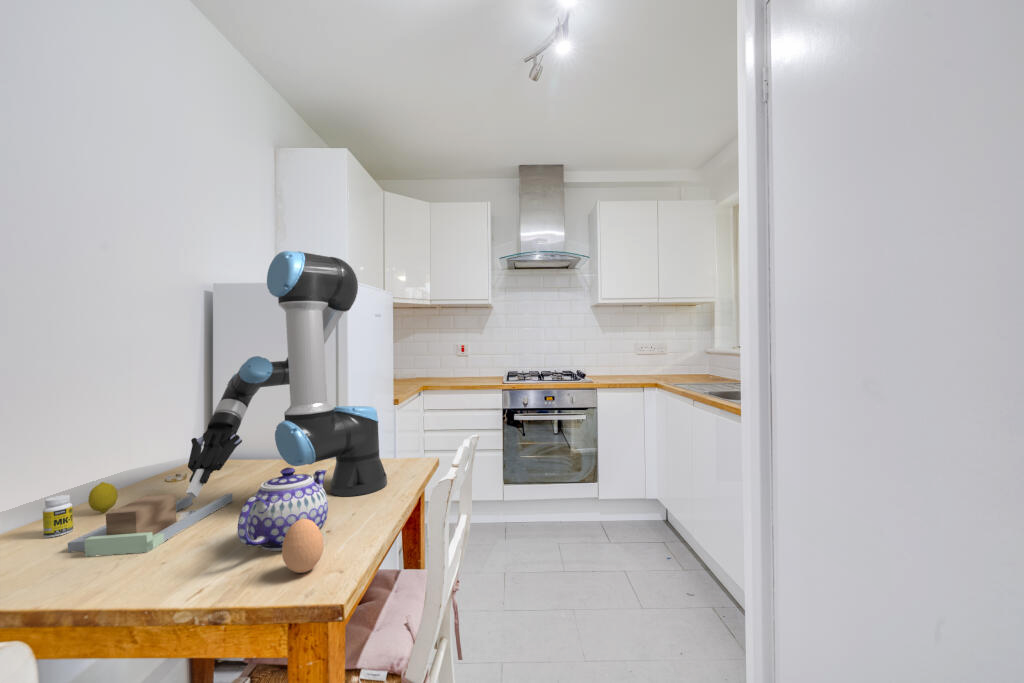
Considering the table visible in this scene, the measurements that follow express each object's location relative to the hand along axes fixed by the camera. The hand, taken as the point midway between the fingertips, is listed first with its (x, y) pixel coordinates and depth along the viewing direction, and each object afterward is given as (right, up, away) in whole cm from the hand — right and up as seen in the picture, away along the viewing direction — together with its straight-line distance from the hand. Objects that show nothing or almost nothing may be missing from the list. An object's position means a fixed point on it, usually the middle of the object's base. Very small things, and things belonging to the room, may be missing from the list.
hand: (191, 494), depth 111 cm
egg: (+44, -2, -33) cm, 55 cm away
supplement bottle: (-23, -6, -10) cm, 26 cm away
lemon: (-25, -6, +3) cm, 26 cm away
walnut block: (+1, -4, -15) cm, 16 cm away
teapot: (+35, -3, -20) cm, 40 cm away
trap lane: (-2, -4, -8) cm, 9 cm away
